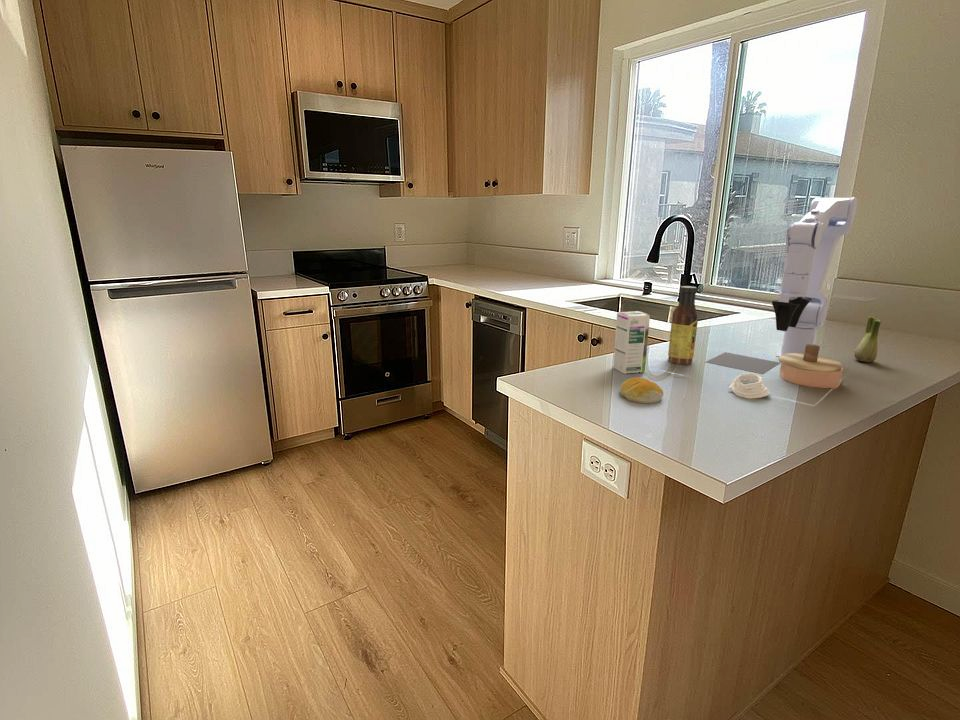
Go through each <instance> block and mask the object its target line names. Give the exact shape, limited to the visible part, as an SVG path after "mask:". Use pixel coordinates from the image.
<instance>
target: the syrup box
mask: <svg viewBox="0 0 960 720" xmlns="http://www.w3.org/2000/svg"><path fill="white" fill-rule="evenodd" d="M650 319H651V316H650V314H649V313H646V312H643V311H638V310H635V311H618V312H616V321H615V323H616V324H615V325H616V326H615V335H614V336H615V340H614V350H613V351H614V352H613V363H612V367H613V369H614V370H616V369H617V371H618V370H619V371H618V372H620V373H622V374H624V375H627V374H637V373H639V372H640V373H645V371H646V361H647V351H648V341H649V330H650Z"/></svg>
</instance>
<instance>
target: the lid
mask: <svg viewBox="0 0 960 720" xmlns="http://www.w3.org/2000/svg"><path fill="white" fill-rule="evenodd" d="M820 348H821V347H820V345H817V344H815V345H813V344H806V347H805V352H804V354H799V353H788V354H782V355H780V356H779V357H778V362H780V364H781V363H783V364H785V365H787V366H790V367H794V368H798V369H803V370H809V371H818V372H835V371H839V370H841V367H842V368H843V365H842V363H841V362H840V361H838V360H835V359H832V358H831V357H829V358H828V357H826V356H825V357H824V356H822V355H819V352H820Z"/></svg>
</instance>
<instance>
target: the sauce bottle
mask: <svg viewBox="0 0 960 720" xmlns="http://www.w3.org/2000/svg"><path fill="white" fill-rule="evenodd" d="M697 290H698V288H697V287H696V286H691V285H684V286H683V285H681V286H679V299H678V300H679V301H678V304H677V307H676V308H675V309H674V310H673V312H672V319H671V320H672V321H671V324H670V334H669V342H668V343H669V345H668V359H667V360H668V362H670V363H671V364H675V365H683V366H684V365H685V366H687V365H691V364H692V363H693V359H694V356H695V355H694V354H695V348H696V340H697V339H696V338H697V331H698V323H699V321H698V320H699V316H698V312H697V308H696V305H695V303H696V294H697V292H698V291H697Z"/></svg>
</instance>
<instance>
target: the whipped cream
mask: <svg viewBox="0 0 960 720" xmlns="http://www.w3.org/2000/svg"><path fill="white" fill-rule="evenodd" d="M762 382H763V378H762V377H761V375H758V374H757V373H754V372H744V373H741V374H739V375H737V376H736V377H735V379H733V380H732V381H731V383H730V384H729V386H728V388H729V389H731V391H732V392H733V394H734V395H736V396H738V397H741V398H744V399H745V398H746V399H751V400H752V399H760V398H764V397H767V396H769V395H771V393H770V391H769V389H768V387H766V386H765V385H764V384H763V383H762Z"/></svg>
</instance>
